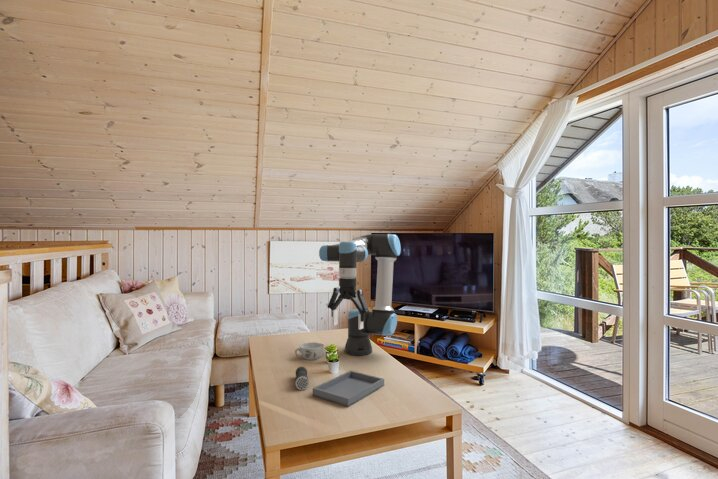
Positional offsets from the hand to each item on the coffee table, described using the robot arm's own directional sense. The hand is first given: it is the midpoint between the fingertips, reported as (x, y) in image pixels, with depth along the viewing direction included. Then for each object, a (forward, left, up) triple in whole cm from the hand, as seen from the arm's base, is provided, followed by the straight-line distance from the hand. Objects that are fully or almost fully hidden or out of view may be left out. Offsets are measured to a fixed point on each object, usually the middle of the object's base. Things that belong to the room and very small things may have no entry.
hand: (347, 326), depth 163 cm
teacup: (-17, -37, -26) cm, 49 cm away
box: (+3, +4, -26) cm, 26 cm away
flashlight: (+3, -21, -19) cm, 28 cm away
